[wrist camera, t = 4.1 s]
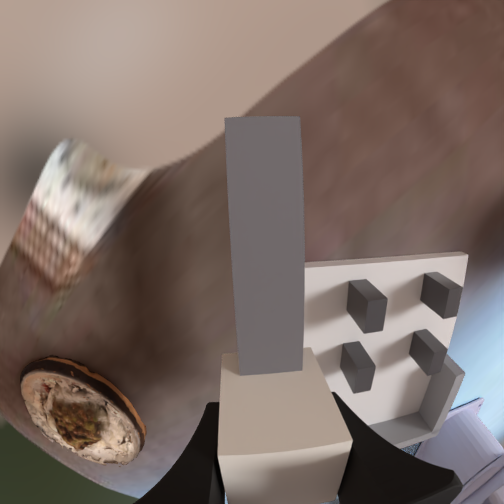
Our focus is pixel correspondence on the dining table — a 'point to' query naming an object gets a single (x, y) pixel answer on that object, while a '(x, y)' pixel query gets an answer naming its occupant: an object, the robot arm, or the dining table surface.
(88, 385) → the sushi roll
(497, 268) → the dining table surface
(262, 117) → the cream block gray bar
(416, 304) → the board
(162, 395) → the dining table surface
